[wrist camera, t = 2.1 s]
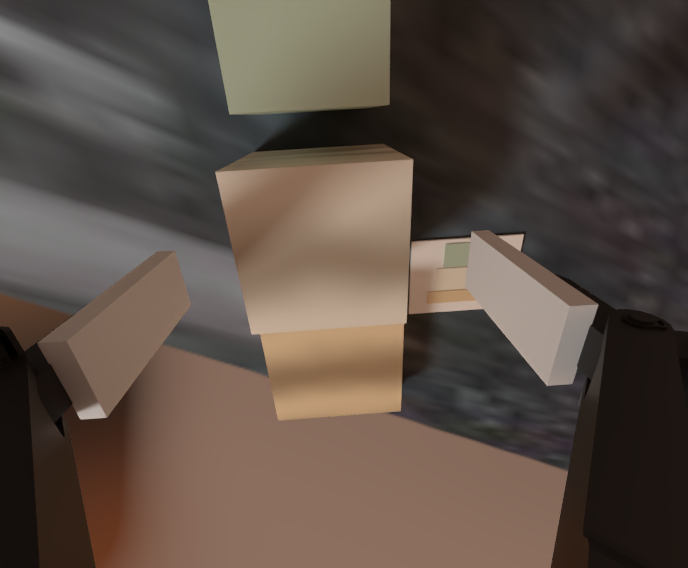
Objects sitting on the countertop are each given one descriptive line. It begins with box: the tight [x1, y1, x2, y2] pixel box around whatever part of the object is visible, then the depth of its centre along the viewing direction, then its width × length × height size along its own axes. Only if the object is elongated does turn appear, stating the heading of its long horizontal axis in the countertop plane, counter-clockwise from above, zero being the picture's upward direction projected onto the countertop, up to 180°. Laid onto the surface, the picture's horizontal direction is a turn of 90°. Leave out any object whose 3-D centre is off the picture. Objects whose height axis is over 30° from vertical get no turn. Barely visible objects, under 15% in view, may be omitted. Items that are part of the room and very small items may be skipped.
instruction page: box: [408, 234, 524, 314], centre depth 25 cm, size 6×8×1 cm
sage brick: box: [208, 0, 390, 114], centre depth 15 cm, size 6×6×8 cm
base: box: [260, 324, 404, 420], centre depth 26 cm, size 11×11×3 cm
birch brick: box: [215, 144, 413, 334], centre depth 19 cm, size 8×8×8 cm
